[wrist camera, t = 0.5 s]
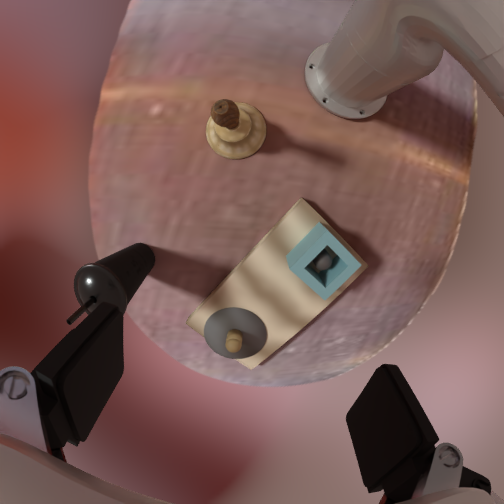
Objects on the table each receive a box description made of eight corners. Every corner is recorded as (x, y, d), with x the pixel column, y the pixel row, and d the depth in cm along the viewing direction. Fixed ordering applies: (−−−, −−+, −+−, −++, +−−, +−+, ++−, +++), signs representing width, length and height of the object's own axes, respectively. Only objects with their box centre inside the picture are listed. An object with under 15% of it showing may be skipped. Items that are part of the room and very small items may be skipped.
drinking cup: (143, 288, 42) (81, 363, 23) (113, 254, 41) (35, 311, 22) (173, 261, 41) (112, 333, 22) (140, 224, 39) (58, 271, 20)
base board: (301, 197, 37) (308, 203, 32) (364, 261, 40) (378, 276, 34) (185, 320, 44) (175, 341, 38) (247, 365, 46) (246, 388, 41)
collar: (319, 221, 36) (327, 230, 32) (350, 253, 37) (361, 265, 33) (285, 256, 38) (289, 269, 33) (317, 285, 39) (324, 300, 34)
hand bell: (275, 115, 34) (286, 80, 19) (252, 168, 36) (245, 168, 21) (220, 94, 33) (194, 51, 18) (197, 146, 36) (155, 135, 20)
